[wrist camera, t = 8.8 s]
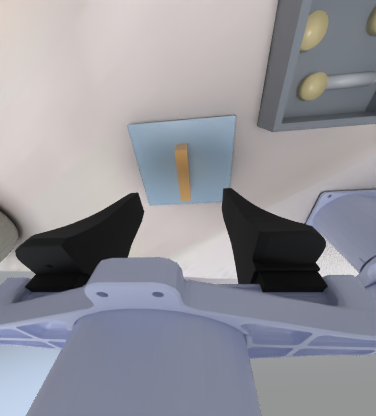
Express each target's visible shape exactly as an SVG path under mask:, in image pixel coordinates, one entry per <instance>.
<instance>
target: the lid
mask: <svg viewBox="0 0 376 416" xmlns="http://www.w3.org/2000/svg"><path fill="white" fill-rule="evenodd" d="M235 123H236V115H230V116H219V117H207V118H196V119H185V120H174V121H163V122H151V123H140V124H129V125H127V127H128V130H129V134H130V137H131V141H132V144H133V148H134V152H135V155H136V159H137V162H138V166H139V169H140V173H141V176H142V180H143V184H144V187H145V191H146V194H147V198H148V201H149V205H169V204H190V203H211V202H222V198H223V188H229V187H230V176H231V165H232V155H233V144H234V134H235Z"/></svg>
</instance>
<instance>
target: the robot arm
mask: <svg viewBox="0 0 376 416" xmlns="http://www.w3.org/2000/svg"><path fill="white" fill-rule="evenodd" d="M328 195H329V196H328ZM222 213H223V218H224V222H225V225H226V228H227V231H228V234H229V237H230V241H231V244H232V249H233V254H234V260H235V265H236V271H237V277H238V284H210V283H205V282H199V281H194V280H188V279H184V277H183V273H182V269H181V268H180V266H179V265H178V264H177V263H176V262H174V261H172V260H170V259H167V258H160V257H143V258H128V254H129V251H130V248H131V245H132V242H133V240H134V238H135V236H136V233H137V231H138V229H139V227H140V224H141V222H142V218H143V215H144V210H143V207H142V203H141V200H140V197H139V194H138V193H130V194H128V195H127V196H125V197H123V198H122V199H120V200H118V201H117V202H115V203H114V204H112V205H110V206H109V207H107V208H105V209H104V210H102V211H100V212H98V213H96V214H94V215H92V216H90V217H88V218H85V219H83V220H80V221H78V222H75V223H73V224H70V225H67V226H64V227H61V228H58V229H55V230H51V231H47V232H43V233H40V234H36V235H33V236H31V237H30V238H29V239H28V240H26V241H25V242H24V243H23V244H21V245H20V246H19V247H18V248H17V249H16V251H15V252H16V257H17V258H18V260H19V261H21V262H22V263H23V264H24V265H25V266H26V267H28V268H29V269H30V270H31V271H33V272H34V273H35V274H36V275H35V276H34V277H33V278H32V279H29V278H7V279H6V280H5V281H4V282H3V283H2V284H1V285H0V345H10V346H26V347H38V348H48V349H57V350H61V351H60V353H59V355H58V357H57V359H56V361H55V363H54V365H53V367H52V368H51V370H50V372H49V374H48V376H47V377H46V379H45V381H44V383H43V385H42V387H41V389H40V391H39V392H38V394H37V396H36V398H35V400H34V402H33V403H32V405H31V407H30V409H29V411H28V413H27V415H26V416H262V415H261V410H260V405H259V401H258V396H257V391H256V387H255V382H254V378H253V373H252V368H251V363H250V359H258V358H281V357H306V356H370V355H373V354H375V353H376V189H375V190H355V191H335V192H324V193H322V194H321V195H320V197H319V199H318V201H317V203H316V205H315V207H314V209H313V211H312V213H311V215H310V217H309V218H308V220H307V222H306V224H302V223H298V222H295V221H291V220H288V219H285V218H282V217H279V216H277V215H274V214H272V213H269V212H267V211H265V210H263V209H261V208H259V207H257V206H255V205H254V204H252V203H251V202H249V201H247V200H246V199H245V198H243V197H242V196H241V195H239V194H238V193H237V192H236V191H234V190H233V189H232V188H223V198H222ZM320 233H321V234H322V235H323V236H324V237H325V238H326V239H327V240H328V241H329V242H330V243H331V245H332V246H333V247H334V248H335V249H336V250H337V251H338V252H339V253H340V254H341V255H342V256H343V257H344V258H345V259H346V260H347V261H348V262H349V263H350V264H351V265H352V266H353V267H354V268H355V269H356V270H357V271H358V272H359V273H360V274H359V275H357V276H356V277H354V276H353V275H327V276H324V277H321V275H320V274H319V273H318V271H319V270H320V268H319V266H318V265H317V264H316V261H317V260H318V258H319V257H320V256H321V254H322V253H323V251H324V249H325V247H326V241H325V239H324V238H323V237H322V236H321V234H320Z"/></svg>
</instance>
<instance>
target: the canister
mask: <svg viewBox="0 0 376 416" xmlns="http://www.w3.org/2000/svg"><path fill="white" fill-rule="evenodd" d="M17 240H18V231H17V228H16V227H15V226H14V223H12V222H11V220H10V219H9V218H8V217H7V216H6V215H4V214H3V213H2V212H1V211H0V262H1V261H2V260H3V259H4V258H5V257H6V256H7V255H8V254H9V253H10V252H11V250H12V249H13V248H14V246H15V245H16V243H17Z"/></svg>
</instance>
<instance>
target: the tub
mask: <svg viewBox="0 0 376 416" xmlns="http://www.w3.org/2000/svg"><path fill="white" fill-rule="evenodd" d="M366 124H376V0H279V1H278V7H277V13H276V19H275V24H274V30H273V36H272V42H271V48H270V54H269V60H268V65H267V71H266V77H265V83H264V89H263V95H262V101H261V106H260V112H259V118H258V124H257V126H258V127H261V128H264V129H266V130H269V131H271V132H278V131H291V130H303V129H316V128H328V127H341V126H354V125H366Z"/></svg>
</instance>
